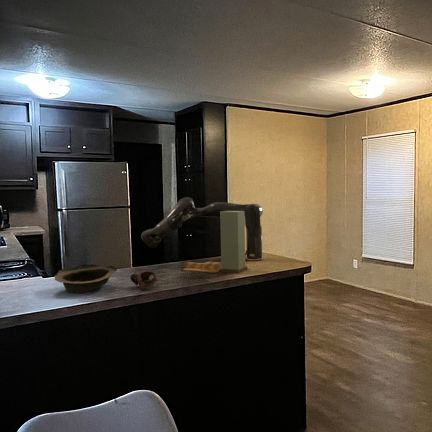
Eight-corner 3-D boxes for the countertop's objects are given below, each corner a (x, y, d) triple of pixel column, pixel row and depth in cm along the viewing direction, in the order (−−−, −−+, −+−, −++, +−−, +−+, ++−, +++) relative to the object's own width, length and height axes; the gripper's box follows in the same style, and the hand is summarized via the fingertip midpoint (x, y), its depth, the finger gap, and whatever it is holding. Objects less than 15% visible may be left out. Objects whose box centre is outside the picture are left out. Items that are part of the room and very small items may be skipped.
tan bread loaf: (182, 267, 237) (182, 256, 236) (188, 265, 242) (188, 254, 242) (215, 270, 229) (214, 258, 229) (221, 267, 235) (220, 256, 235)
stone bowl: (98, 279, 211) (98, 260, 210) (127, 291, 195) (127, 270, 194) (44, 288, 192) (43, 268, 191) (70, 302, 176) (70, 280, 175)
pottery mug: (159, 285, 202) (160, 271, 197) (151, 299, 194) (153, 285, 189) (133, 278, 201) (134, 265, 197) (124, 292, 193) (125, 278, 189)
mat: (182, 270, 233) (182, 269, 233) (196, 265, 246) (196, 264, 246) (215, 272, 226) (215, 271, 226) (228, 267, 239) (228, 266, 239)
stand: (219, 271, 228) (217, 212, 225) (229, 267, 238) (227, 210, 235) (238, 273, 224) (237, 212, 221) (247, 269, 234) (246, 210, 232)
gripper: (160, 219, 236) (182, 204, 230) (176, 217, 249) (197, 203, 243) (167, 232, 235) (189, 217, 229) (182, 229, 248) (203, 215, 243)
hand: (193, 210), depth 236 cm, fingers open, 8 cm apart
